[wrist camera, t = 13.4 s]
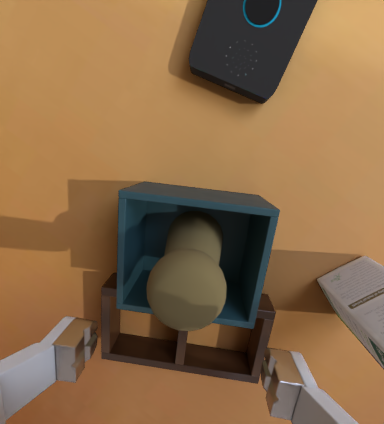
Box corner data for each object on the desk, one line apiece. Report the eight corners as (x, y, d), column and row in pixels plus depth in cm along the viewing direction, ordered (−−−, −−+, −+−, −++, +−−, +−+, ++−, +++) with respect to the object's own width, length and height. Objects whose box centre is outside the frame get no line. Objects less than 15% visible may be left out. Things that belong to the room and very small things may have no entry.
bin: (241, 284, 24) (253, 329, 18) (139, 270, 25) (116, 308, 18) (258, 195, 22) (280, 209, 15) (144, 181, 22) (118, 190, 16)
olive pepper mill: (156, 236, 23) (112, 302, 12) (195, 198, 22) (182, 236, 11) (195, 272, 24) (184, 364, 13) (234, 238, 22) (259, 310, 12)
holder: (252, 359, 27) (258, 384, 24) (112, 338, 28) (101, 358, 25) (267, 294, 24) (276, 312, 21) (113, 272, 25) (101, 287, 22)
